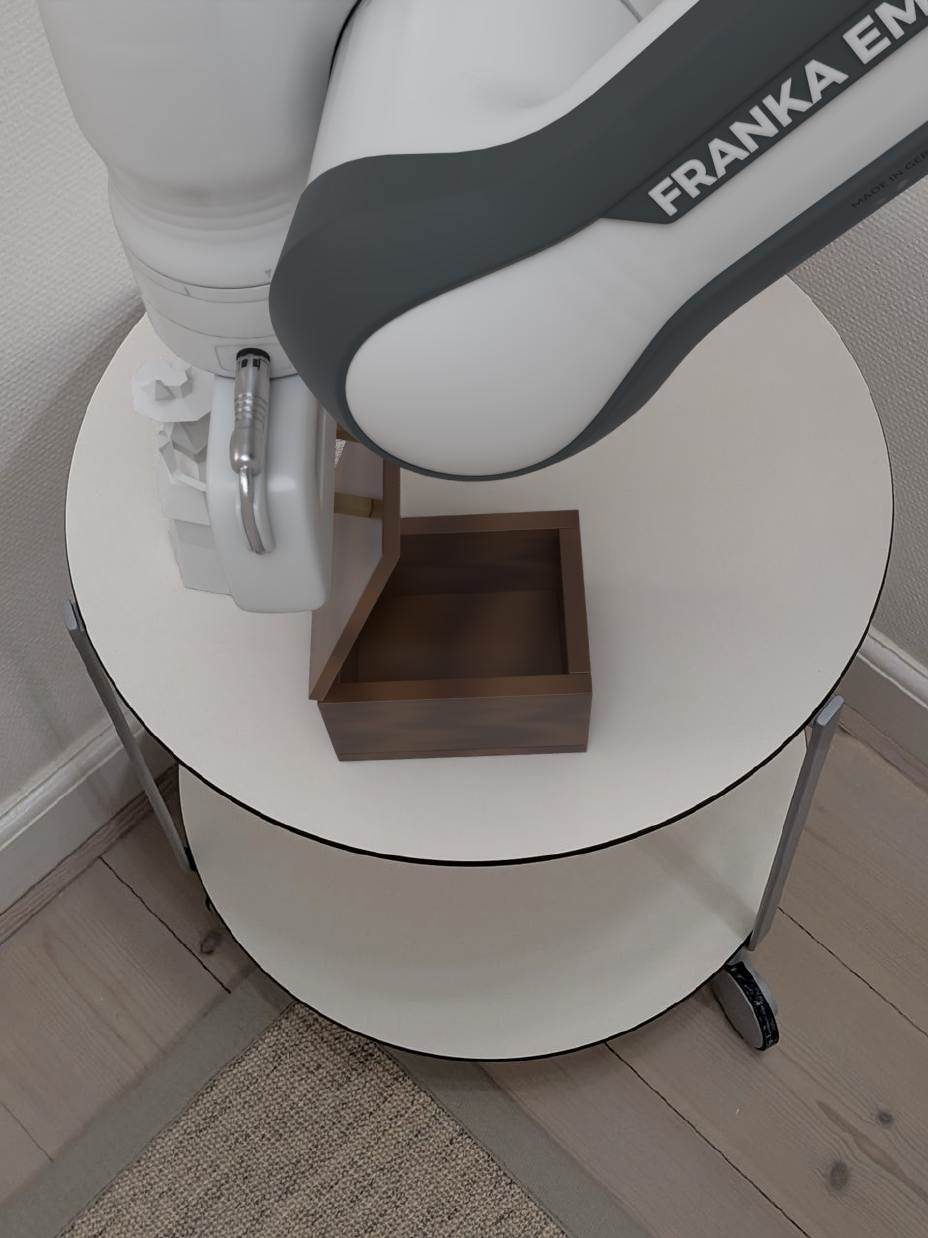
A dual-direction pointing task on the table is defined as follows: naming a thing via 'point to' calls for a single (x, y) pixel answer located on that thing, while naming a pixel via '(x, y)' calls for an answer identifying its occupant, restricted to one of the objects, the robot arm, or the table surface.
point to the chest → (471, 644)
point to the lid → (355, 556)
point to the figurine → (182, 462)
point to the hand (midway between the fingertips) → (311, 475)
